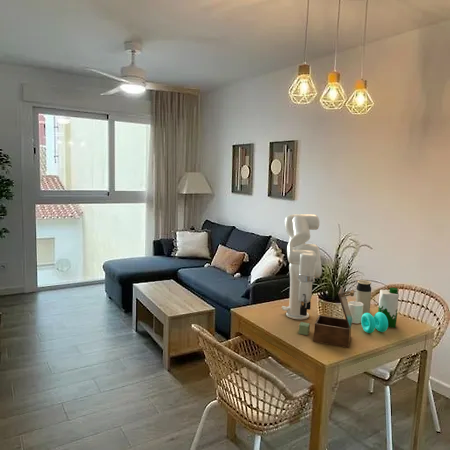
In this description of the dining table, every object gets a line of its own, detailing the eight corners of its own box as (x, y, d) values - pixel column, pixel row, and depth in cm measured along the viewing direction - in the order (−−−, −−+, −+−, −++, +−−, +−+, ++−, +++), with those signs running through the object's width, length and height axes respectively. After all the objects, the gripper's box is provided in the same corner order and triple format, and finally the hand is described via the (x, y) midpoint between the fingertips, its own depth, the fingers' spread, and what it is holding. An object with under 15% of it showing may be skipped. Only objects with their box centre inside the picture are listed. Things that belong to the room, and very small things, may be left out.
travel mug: (368, 315, 219) (370, 284, 216) (353, 312, 222) (355, 282, 220) (370, 311, 225) (372, 281, 223) (356, 308, 229) (358, 279, 227)
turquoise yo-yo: (388, 335, 192) (390, 316, 190) (370, 336, 190) (371, 317, 188) (376, 327, 202) (378, 309, 200) (359, 328, 199) (360, 310, 198)
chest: (313, 341, 183) (314, 323, 182) (318, 331, 195) (319, 314, 194) (348, 347, 177) (349, 329, 176) (350, 337, 189) (351, 319, 188)
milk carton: (397, 328, 200) (400, 291, 197) (379, 327, 202) (381, 290, 199) (393, 322, 209) (396, 286, 206) (376, 321, 210) (378, 285, 208)
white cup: (344, 318, 213) (345, 301, 212) (358, 318, 214) (359, 301, 212) (350, 324, 205) (351, 306, 204) (364, 324, 206) (366, 305, 205)
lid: (338, 294, 176) (351, 291, 174) (341, 286, 188) (353, 284, 185) (348, 328, 176) (362, 326, 174) (350, 319, 188) (363, 317, 185)
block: (298, 333, 192) (299, 325, 191) (300, 330, 196) (300, 321, 195) (307, 335, 190) (308, 326, 190) (309, 331, 194) (309, 323, 194)
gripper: (302, 273, 199) (301, 306, 201) (295, 281, 183) (293, 316, 185) (317, 275, 196) (315, 308, 198) (311, 283, 180) (309, 318, 182)
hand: (305, 312), depth 191 cm, fingers open, 9 cm apart
